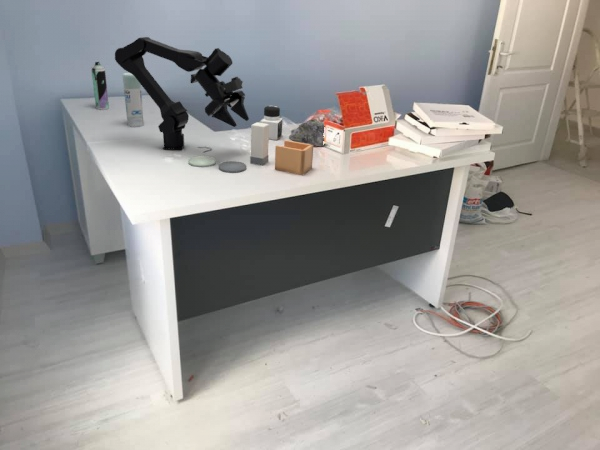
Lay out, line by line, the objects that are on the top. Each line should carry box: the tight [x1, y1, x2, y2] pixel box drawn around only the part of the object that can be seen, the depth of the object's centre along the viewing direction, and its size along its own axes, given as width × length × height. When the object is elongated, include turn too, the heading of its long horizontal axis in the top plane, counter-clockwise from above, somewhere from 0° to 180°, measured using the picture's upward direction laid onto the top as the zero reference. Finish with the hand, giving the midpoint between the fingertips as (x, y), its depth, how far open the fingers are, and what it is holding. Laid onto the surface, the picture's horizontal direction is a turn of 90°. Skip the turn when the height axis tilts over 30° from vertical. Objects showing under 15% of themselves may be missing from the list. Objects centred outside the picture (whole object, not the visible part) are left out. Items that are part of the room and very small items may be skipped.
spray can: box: [91, 61, 110, 111], centre depth 219 cm, size 6×6×20 cm
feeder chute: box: [274, 139, 315, 176], centre depth 163 cm, size 10×8×8 cm
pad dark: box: [217, 160, 247, 174], centre depth 162 cm, size 9×9×1 cm
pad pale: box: [187, 155, 217, 168], centre depth 165 cm, size 9×9×1 cm
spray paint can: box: [122, 72, 145, 128], centre depth 197 cm, size 6×6×20 cm
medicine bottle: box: [260, 105, 283, 141], centre depth 194 cm, size 7×7×12 cm
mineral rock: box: [288, 118, 325, 147], centre depth 190 cm, size 13×11×10 cm
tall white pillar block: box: [249, 121, 270, 166], centre depth 166 cm, size 5×5×13 cm
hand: (241, 123), depth 165 cm, fingers open, 9 cm apart
